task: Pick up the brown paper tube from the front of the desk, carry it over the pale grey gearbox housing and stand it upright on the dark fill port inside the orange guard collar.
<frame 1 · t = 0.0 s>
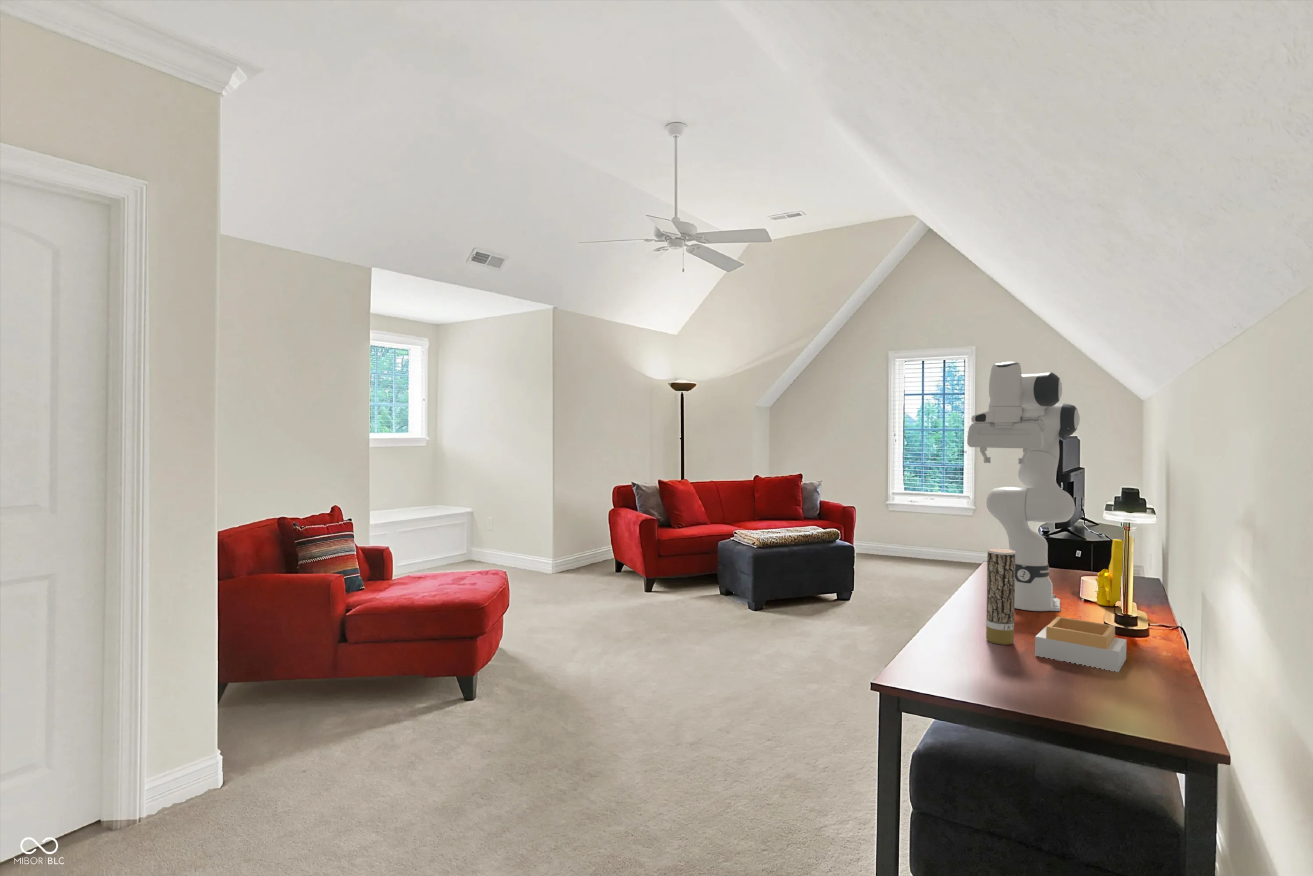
hand: (1004, 463, 204), 48 cm above the table, tool pointing down, fingers open, 8 cm apart
paper tube: (999, 642, 190), on the table
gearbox: (1080, 657, 177), on the table
figure statuette: (1109, 606, 230), on the table
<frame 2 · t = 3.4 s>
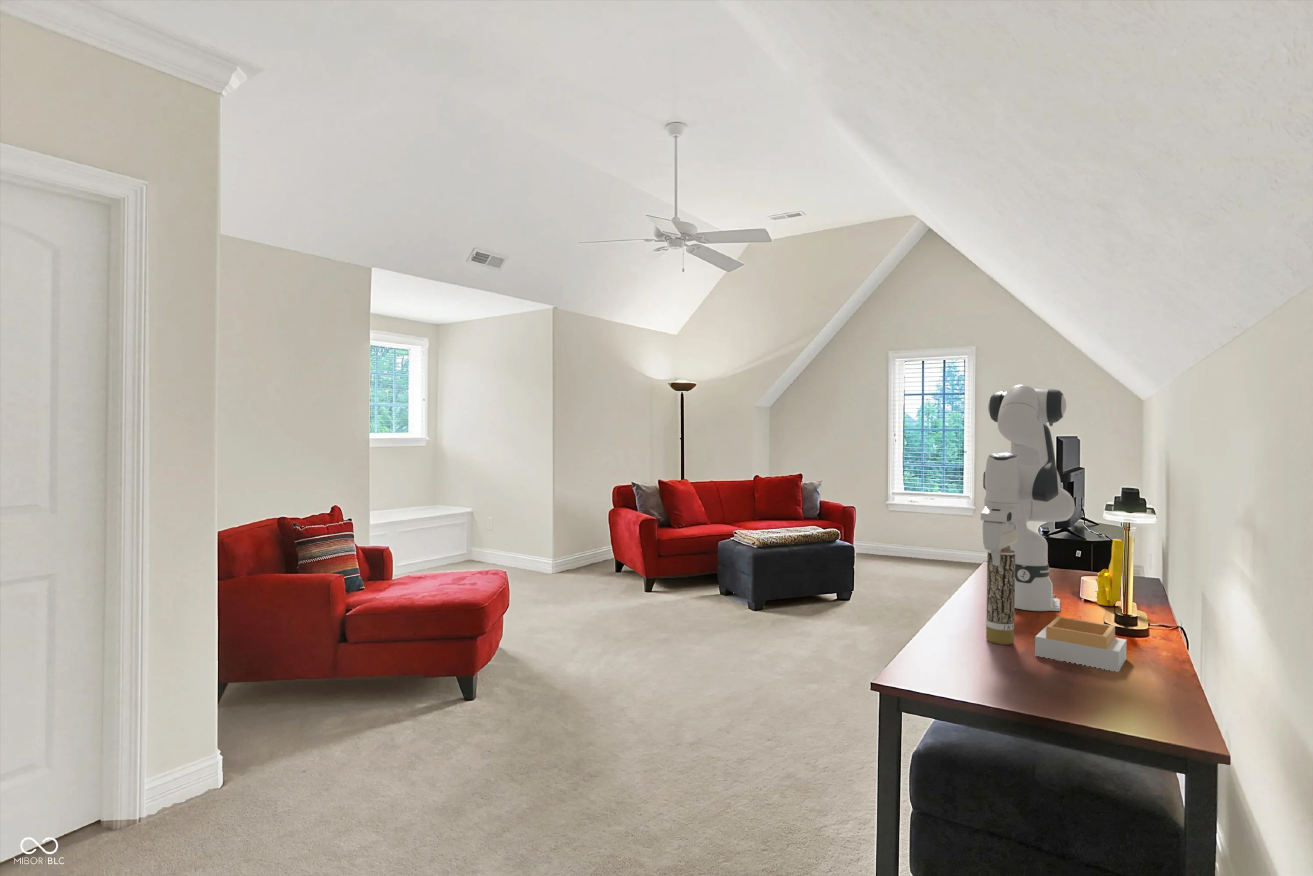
hand: (1001, 563, 189), 22 cm above the table, tool pointing down, fingers closed on paper tube, 7 cm apart
paper tube: (999, 642, 190), on the table, touching gripper
everything else where it was.
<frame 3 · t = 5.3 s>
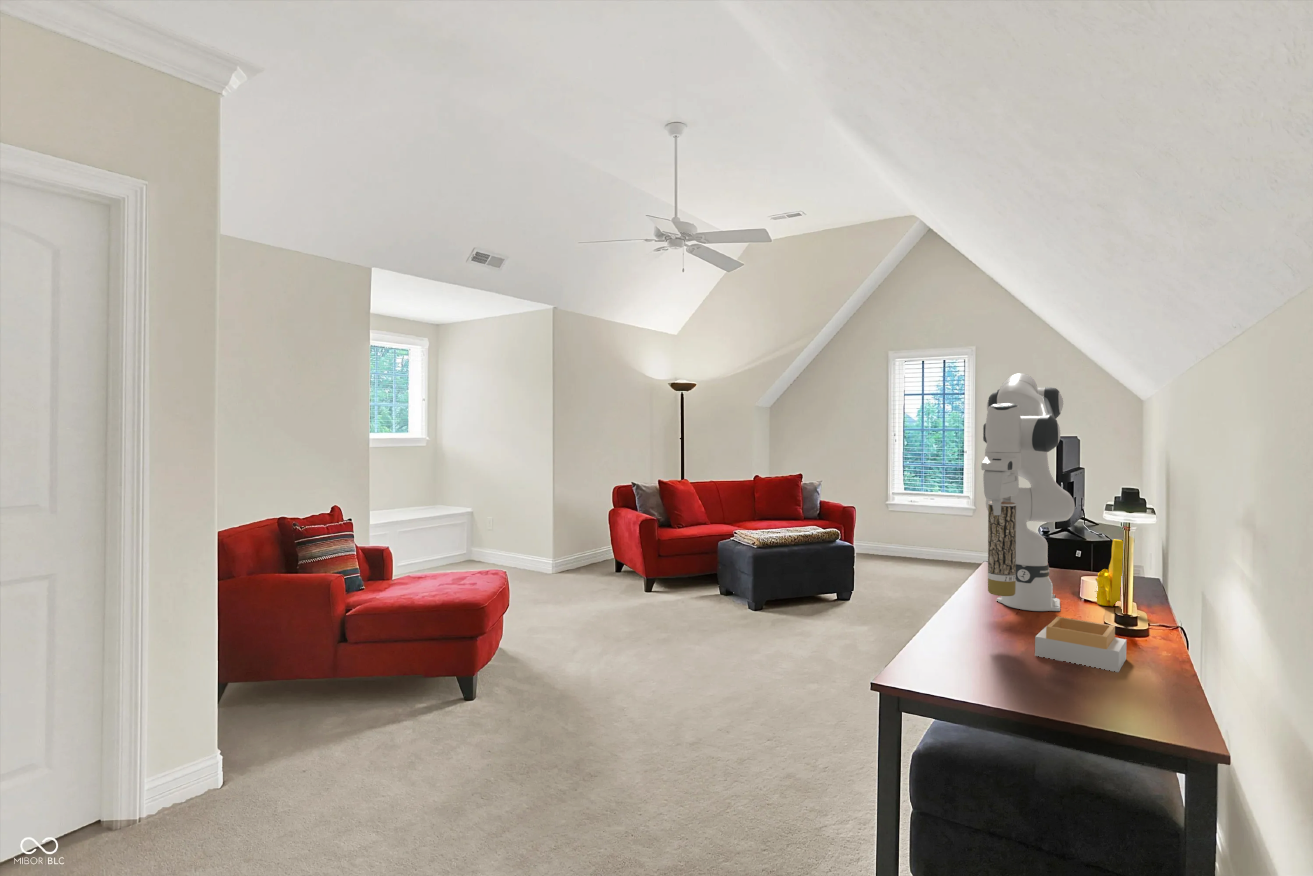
hand: (1001, 513, 189), 35 cm above the table, tool pointing down, fingers closed on paper tube, 7 cm apart
paper tube: (1001, 594, 189), point 13 cm above the table, touching gripper
everything else where it was.
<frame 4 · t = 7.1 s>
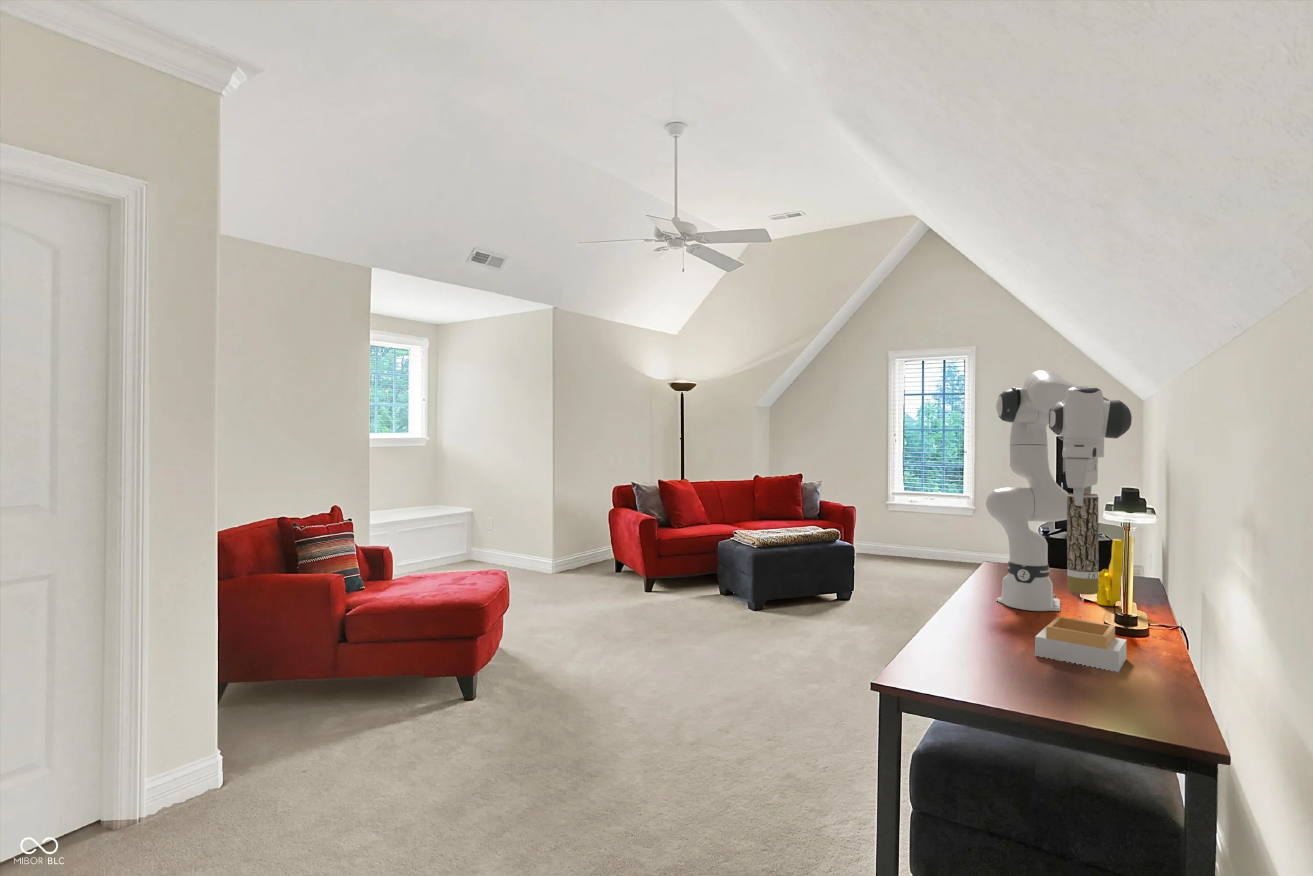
hand: (1082, 504, 177), 39 cm above the table, tool pointing down, fingers closed on paper tube, 7 cm apart
paper tube: (1082, 593, 177), point 17 cm above the table, touching gripper
everything else where it was.
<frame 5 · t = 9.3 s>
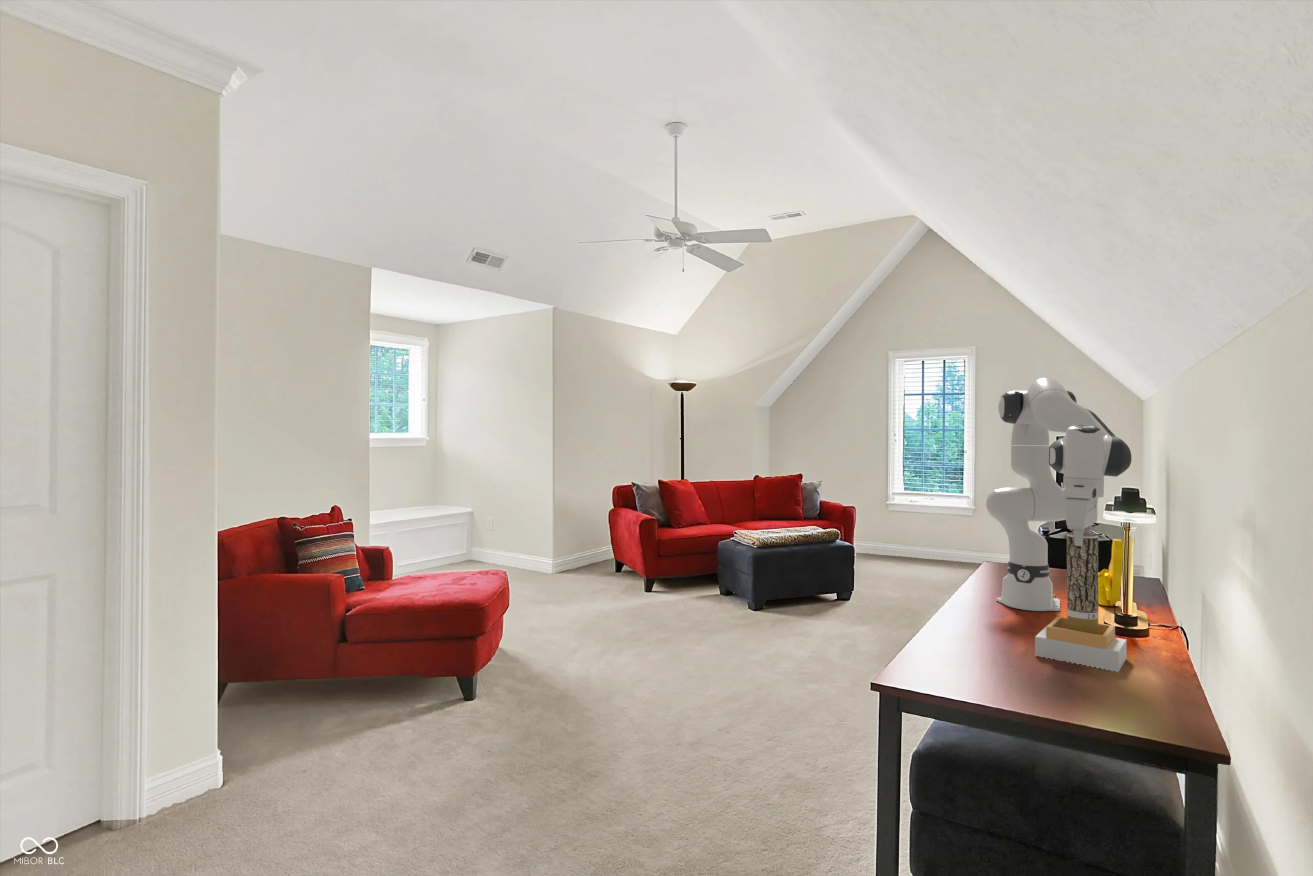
hand: (1082, 543, 177), 29 cm above the table, tool pointing down, fingers closed on paper tube, 7 cm apart
paper tube: (1082, 633, 177), point 6 cm above the table, touching gripper
everything else where it was.
when the fingers open (28 cm above the table, at t = 10.7 s): paper tube stays where it is, resting on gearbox.
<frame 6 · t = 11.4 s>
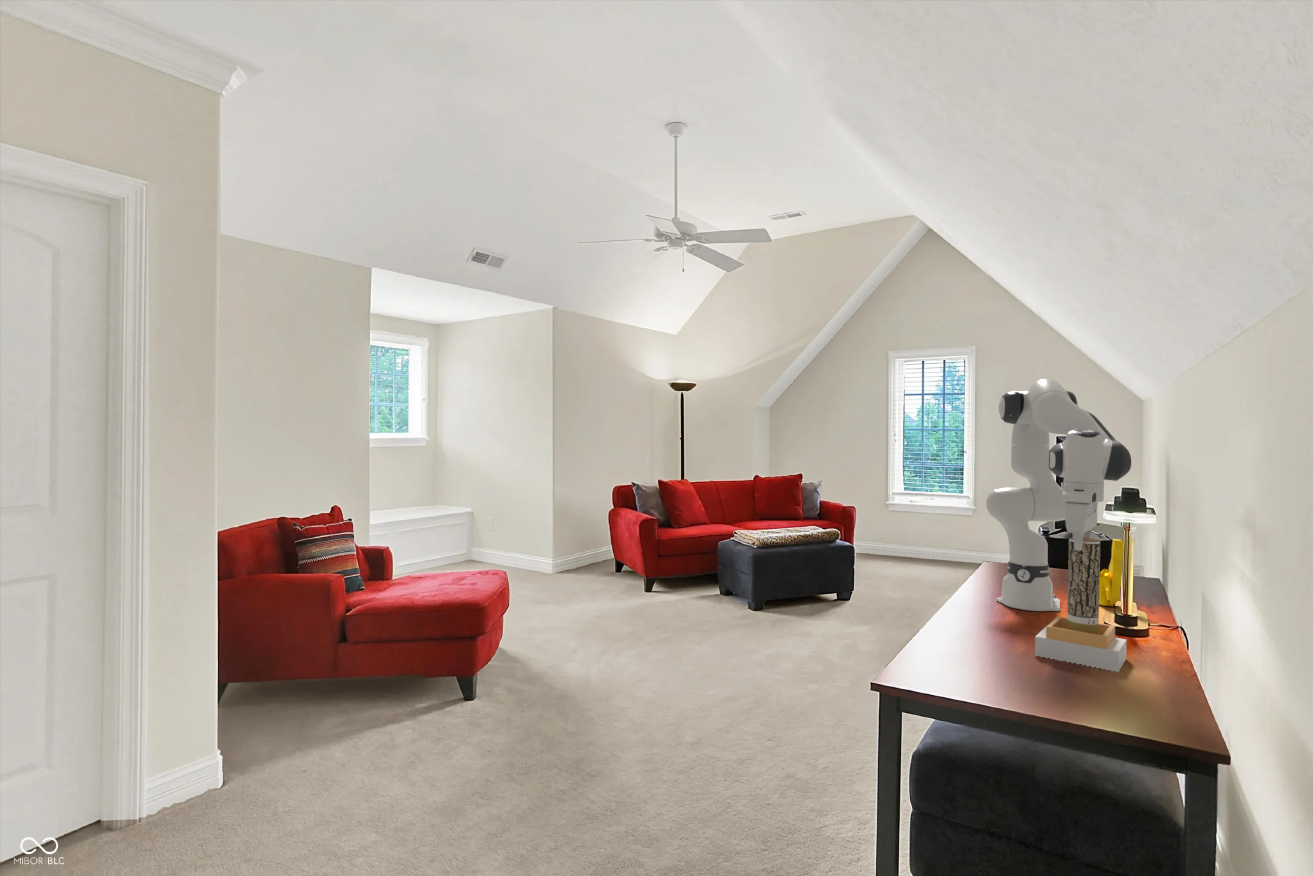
hand: (1082, 547, 177), 28 cm above the table, tool pointing down, fingers open, 8 cm apart
paper tube: (1082, 637, 177), point 5 cm above the table, touching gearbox
everything else where it was.
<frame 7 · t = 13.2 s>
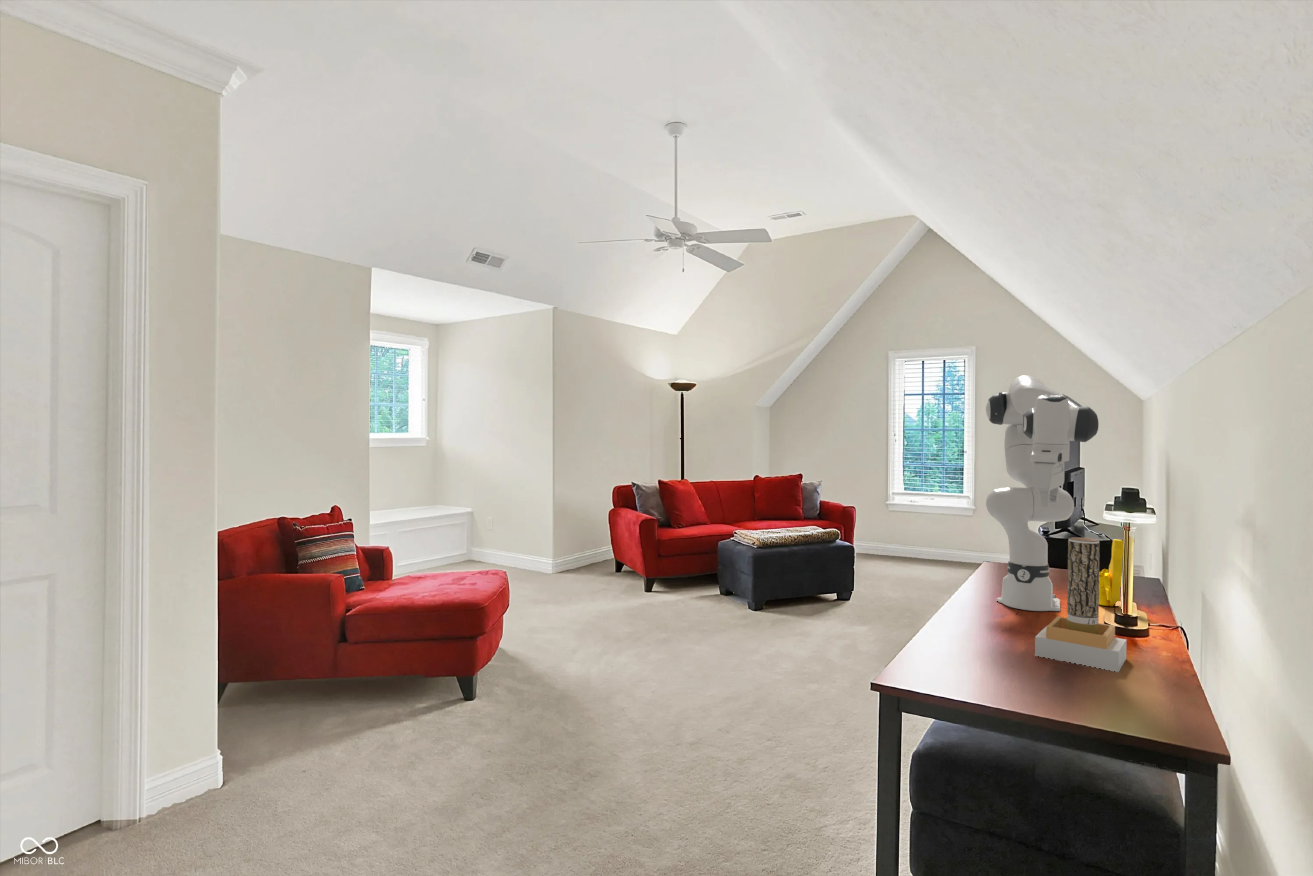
hand: (1049, 504, 191), 38 cm above the table, tool pointing down, fingers open, 8 cm apart
nothing on the table moved.
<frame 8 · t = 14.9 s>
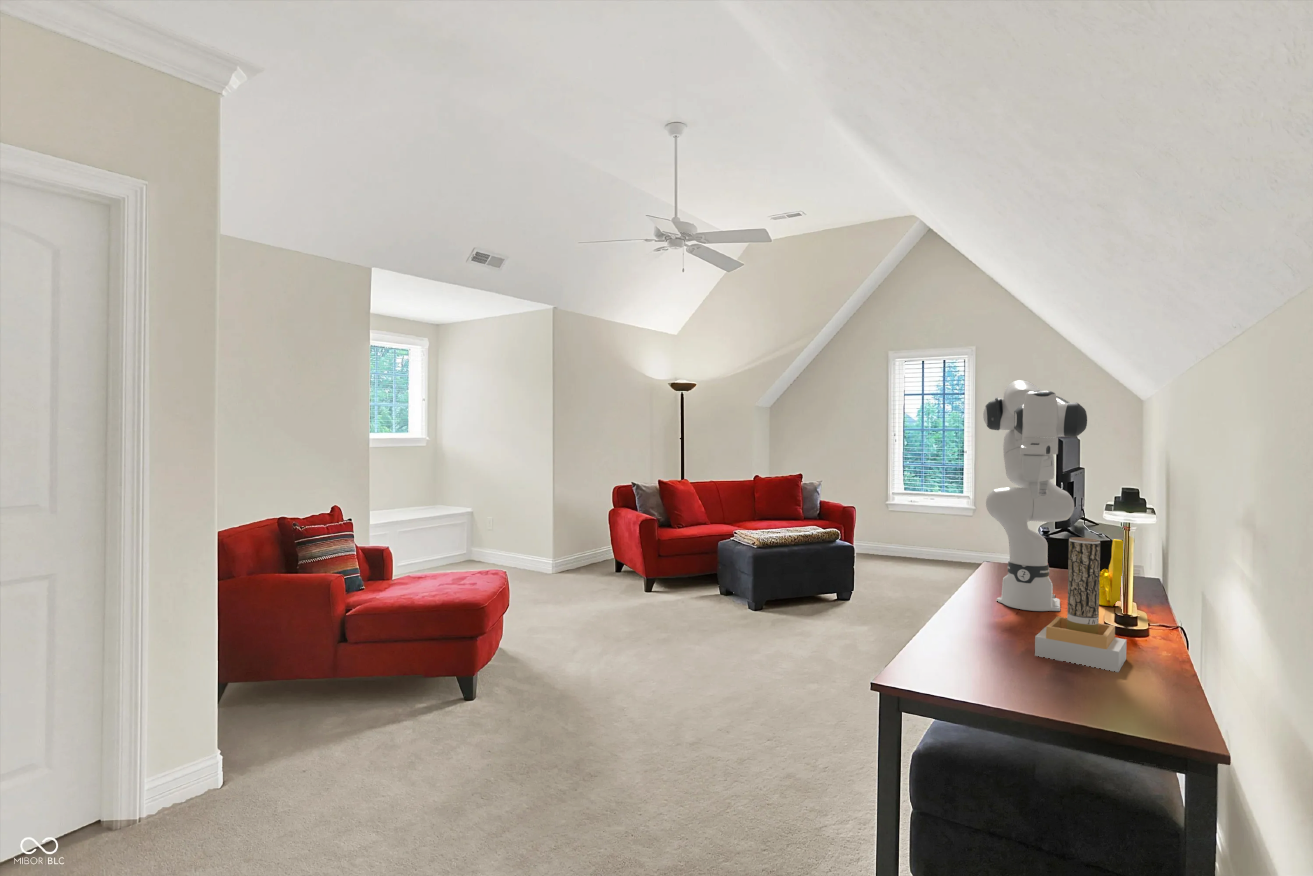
hand: (1039, 496, 196), 39 cm above the table, tool pointing down, fingers open, 8 cm apart
nothing on the table moved.
at the end: paper tube 0.4 cm off-centre on the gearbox, point 5.0 cm above the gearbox's base; paper tube tilted 0°; the gripper is holding nothing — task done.
